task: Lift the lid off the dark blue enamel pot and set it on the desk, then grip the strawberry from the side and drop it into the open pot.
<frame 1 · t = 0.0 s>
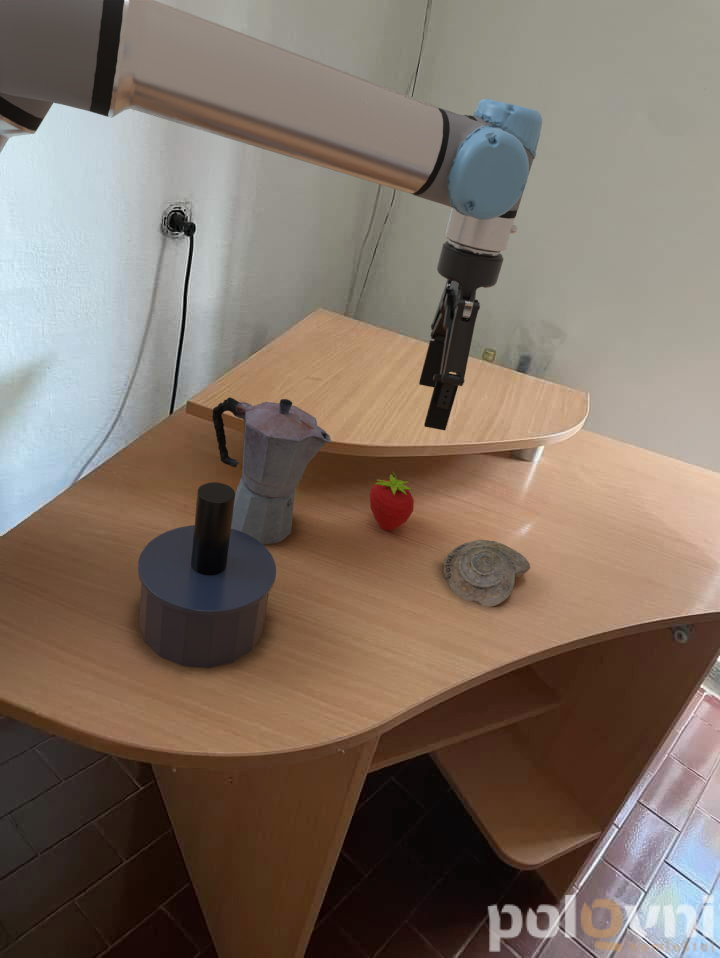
hand: (431, 405, 94), 19 cm above the table, tool pointing down, fingers open, 13 cm apart
fossilized seashell: (483, 586, 94), on the table
pot lid: (208, 568, 72), point 8 cm above the table, touching pot
strawberry: (383, 532, 100), on the table
pot: (201, 628, 77), on the table
moka pot: (255, 531, 94), on the table
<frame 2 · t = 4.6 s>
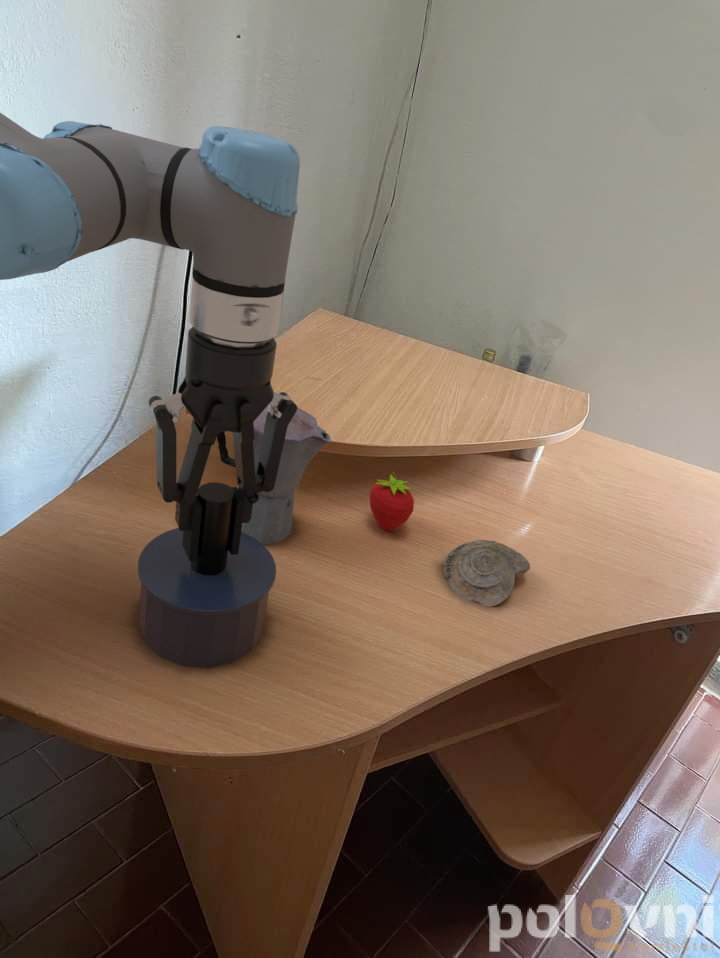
hand: (210, 549, 71), 11 cm above the table, tool pointing down, fingers closed on pot lid, 4 cm apart
pot lid: (208, 568, 72), point 9 cm above the table, touching gripper, pot
everything else where it was.
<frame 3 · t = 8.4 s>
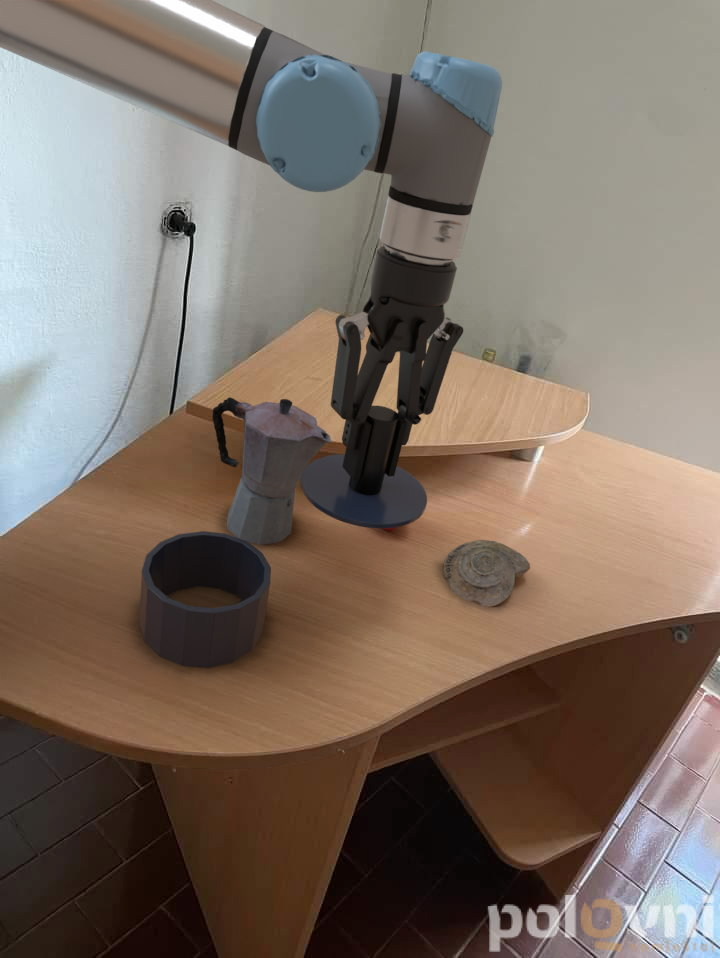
hand: (368, 470, 75), 19 cm above the table, tool pointing down, fingers closed on pot lid, 4 cm apart
pot lid: (363, 491, 76), point 16 cm above the table, touching gripper
everything else where it was.
when the fingers open (3 cm above the table, at t = 12.0 s): pot lid stays where it is, point 1 cm above the table.
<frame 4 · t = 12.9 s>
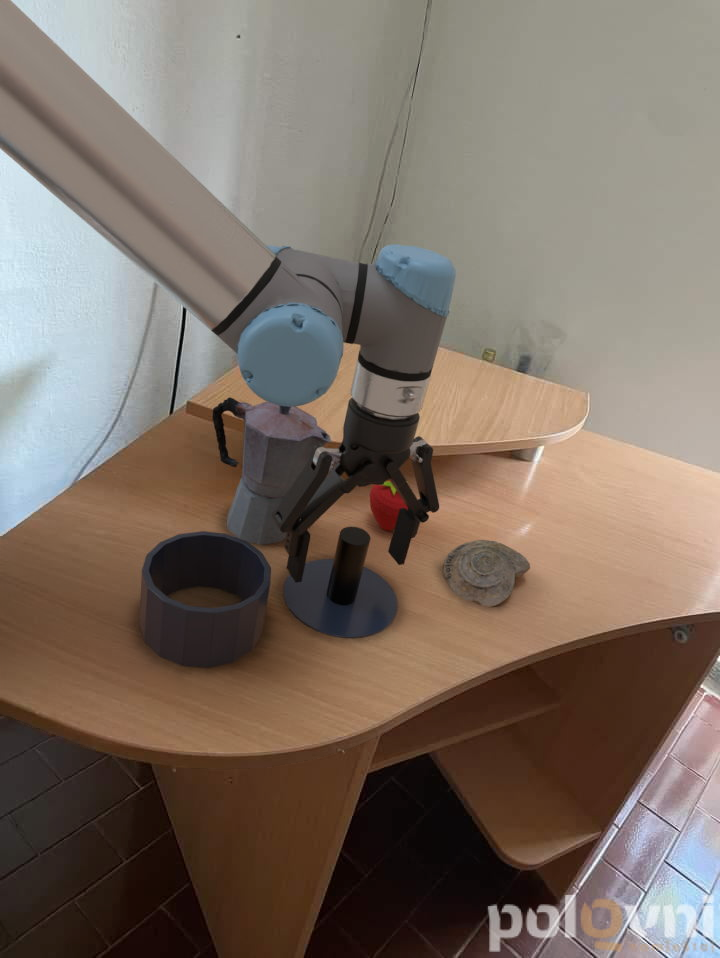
hand: (346, 566, 82), 6 cm above the table, tool pointing down, fingers open, 13 cm apart
pot lid: (340, 598, 84), point 1 cm above the table
everything else where it was.
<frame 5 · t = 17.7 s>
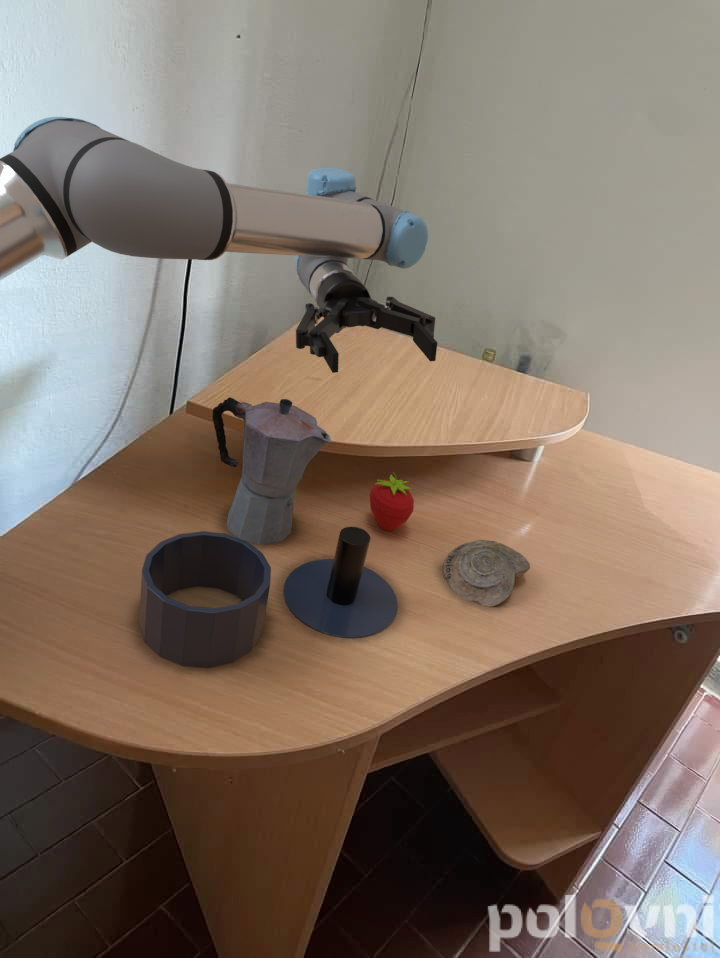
hand: (385, 357, 91), 24 cm above the table, tool horizontal, fingers open, 13 cm apart
nothing on the table moved.
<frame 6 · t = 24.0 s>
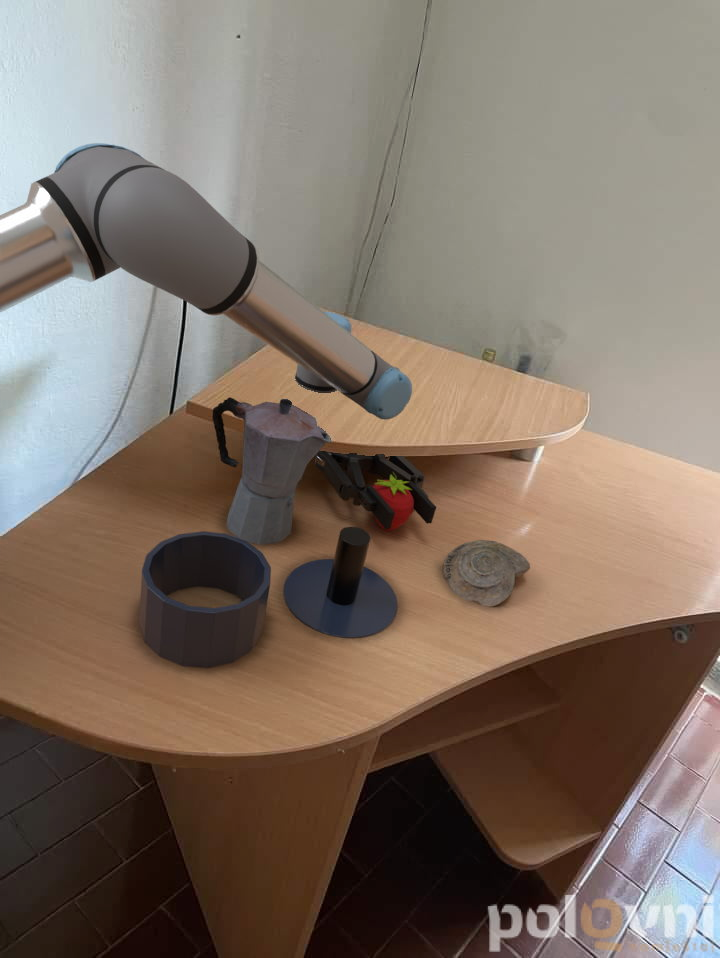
hand: (411, 518, 93), 6 cm above the table, tool horizontal, fingers closed on strawberry, 6 cm apart
strawberry: (383, 532, 100), on the table, touching gripper
everything else where it was.
when the fingers open (12 cm above the table, at t = 36.8 s): strawberry drops 5 cm, resting on pot.
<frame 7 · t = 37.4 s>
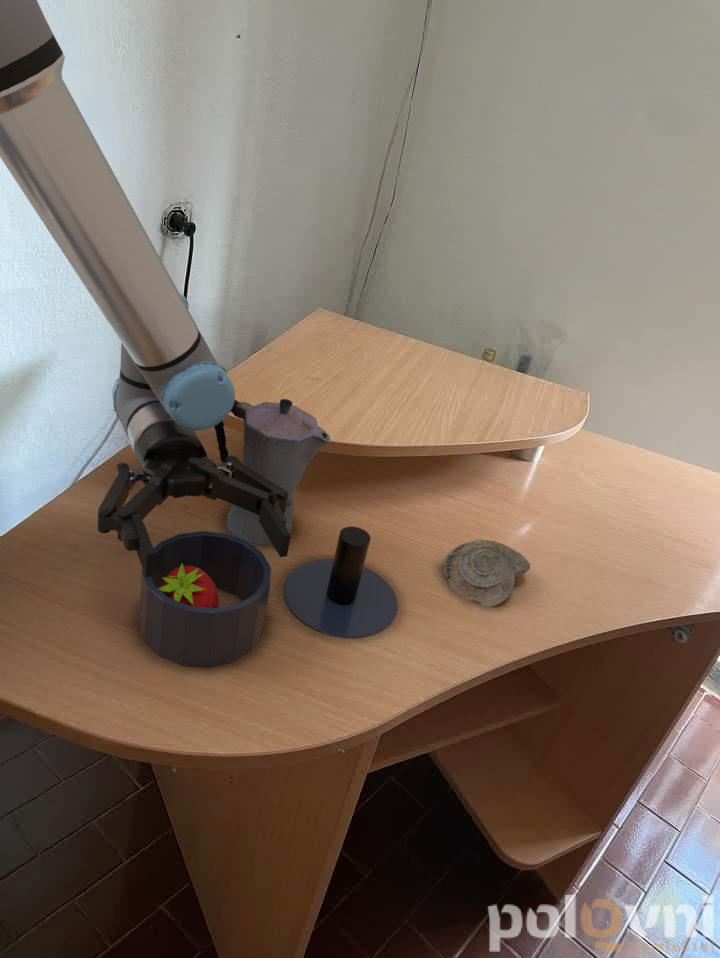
hand: (221, 555, 68), 13 cm above the table, tool horizontal, fingers open, 13 cm apart
strawberry: (201, 623, 76), point 1 cm above the table, touching pot
everything else where it was.
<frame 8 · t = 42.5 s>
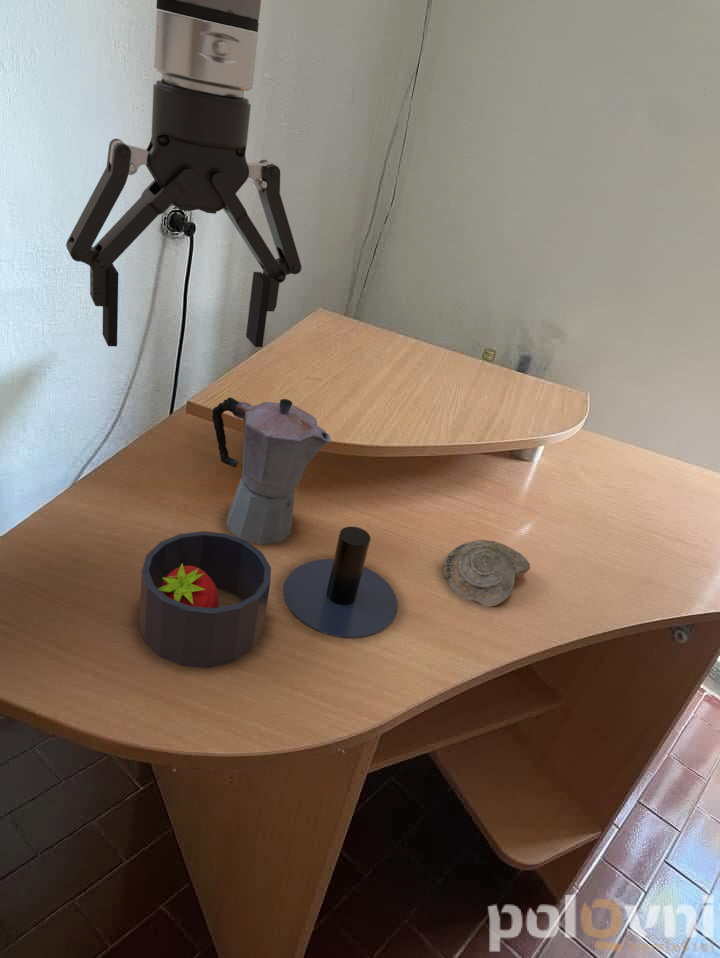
hand: (185, 341, 65), 31 cm above the table, tool pointing down, fingers open, 13 cm apart
nothing on the table moved.
at the end: pot lid inside the target area (0.1 cm from its centre), point 0.6 cm above the table; strawberry inside the target area in the pot (0.0 cm from its centre), point 0.8 cm above the pot's base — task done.
